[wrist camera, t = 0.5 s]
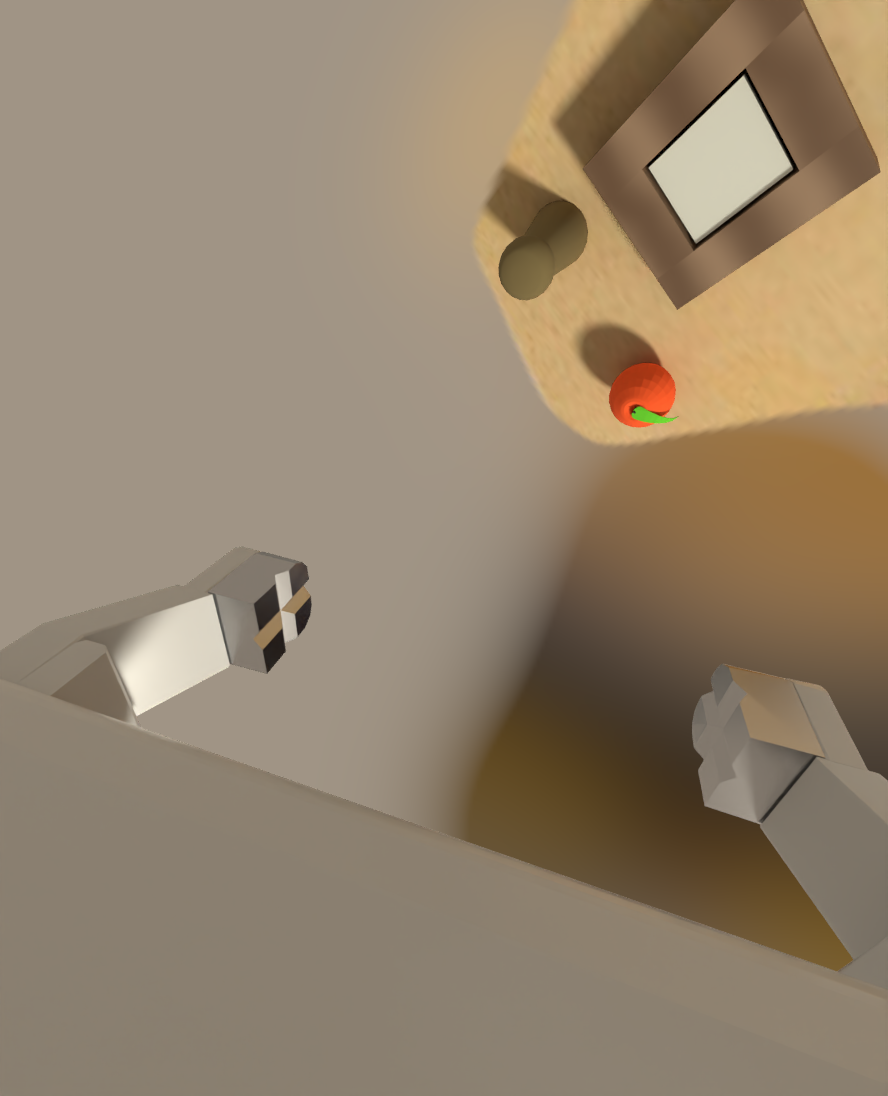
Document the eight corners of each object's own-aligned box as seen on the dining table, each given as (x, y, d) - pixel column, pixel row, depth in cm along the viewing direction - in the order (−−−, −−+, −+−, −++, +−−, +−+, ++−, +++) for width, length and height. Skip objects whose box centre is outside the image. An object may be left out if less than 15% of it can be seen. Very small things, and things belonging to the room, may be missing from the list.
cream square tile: (745, 73, 34) (743, 75, 33) (793, 166, 36) (793, 169, 35) (651, 164, 40) (648, 167, 39) (697, 239, 42) (696, 243, 41)
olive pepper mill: (519, 234, 50) (476, 273, 44) (561, 184, 46) (520, 220, 40) (555, 280, 52) (519, 323, 46) (600, 237, 47) (565, 278, 41)
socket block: (781, -47, 31) (777, -46, 29) (877, 158, 35) (880, 172, 33) (595, 157, 43) (582, 168, 41) (684, 292, 47) (677, 309, 45)
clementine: (702, 369, 51) (692, 403, 48) (670, 419, 57) (658, 453, 53) (633, 342, 53) (617, 373, 49) (608, 393, 58) (591, 425, 55)
